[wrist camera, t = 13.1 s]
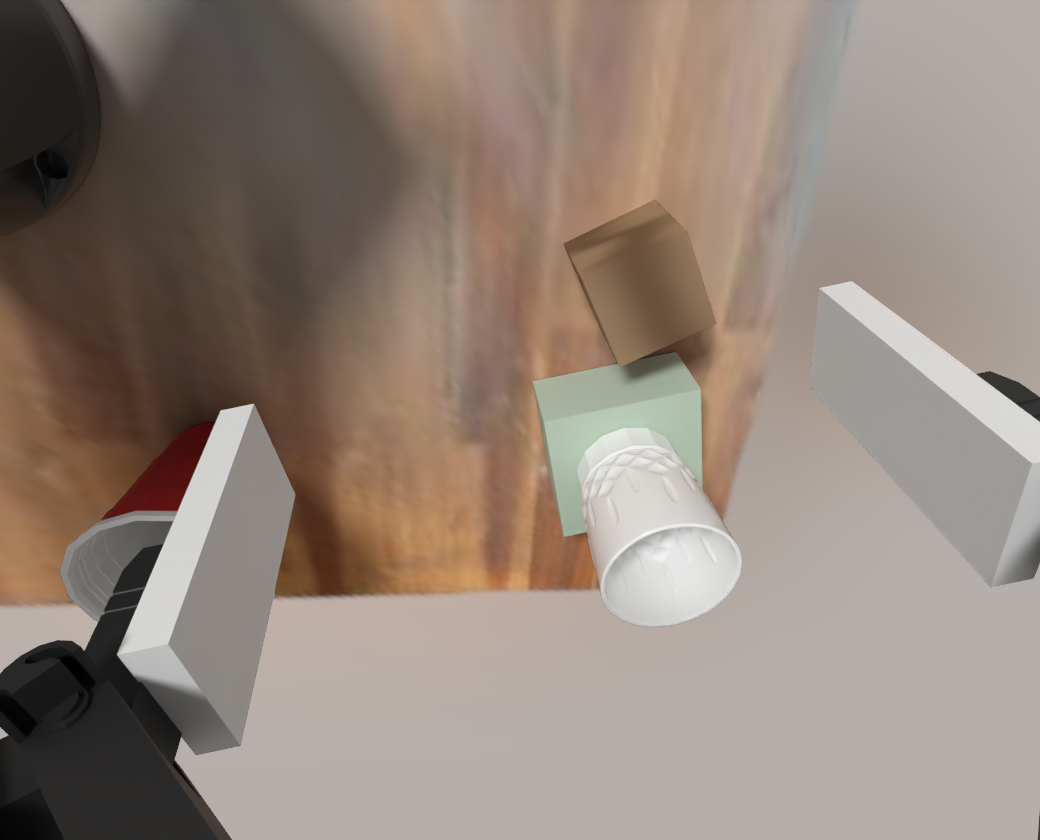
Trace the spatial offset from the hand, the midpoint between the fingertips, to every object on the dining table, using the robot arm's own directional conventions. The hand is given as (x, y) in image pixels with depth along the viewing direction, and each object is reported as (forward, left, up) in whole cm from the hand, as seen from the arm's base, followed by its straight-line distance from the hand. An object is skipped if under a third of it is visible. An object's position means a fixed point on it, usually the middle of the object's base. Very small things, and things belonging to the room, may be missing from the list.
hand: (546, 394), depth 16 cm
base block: (+6, -21, -27) cm, 34 cm away
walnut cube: (+8, -9, -27) cm, 29 cm away
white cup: (+6, -21, -22) cm, 31 cm away
